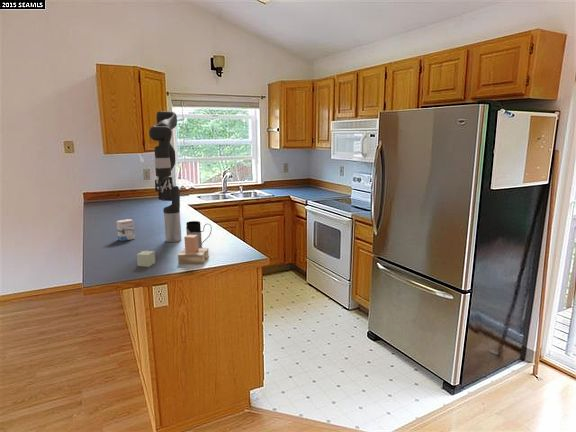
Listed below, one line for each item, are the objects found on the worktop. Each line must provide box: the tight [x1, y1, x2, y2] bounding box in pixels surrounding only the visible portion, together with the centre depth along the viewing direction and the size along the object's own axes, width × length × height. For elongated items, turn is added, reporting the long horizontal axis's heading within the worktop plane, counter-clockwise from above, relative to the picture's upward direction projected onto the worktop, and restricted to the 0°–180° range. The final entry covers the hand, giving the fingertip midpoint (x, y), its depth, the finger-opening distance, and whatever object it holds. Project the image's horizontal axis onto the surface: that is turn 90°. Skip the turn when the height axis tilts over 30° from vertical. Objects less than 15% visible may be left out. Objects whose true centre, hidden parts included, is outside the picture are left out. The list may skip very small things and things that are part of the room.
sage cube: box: [136, 250, 156, 268], centre depth 185 cm, size 6×6×6 cm
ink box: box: [116, 218, 136, 242], centre depth 229 cm, size 9×5×12 cm, turn 135°
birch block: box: [177, 247, 209, 265], centre depth 192 cm, size 12×12×5 cm
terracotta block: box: [184, 234, 199, 253], centre depth 190 cm, size 5×5×8 cm
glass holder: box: [185, 220, 212, 248], centre depth 211 cm, size 9×14×15 cm, turn 111°
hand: (165, 198), depth 195 cm, fingers open, 8 cm apart
